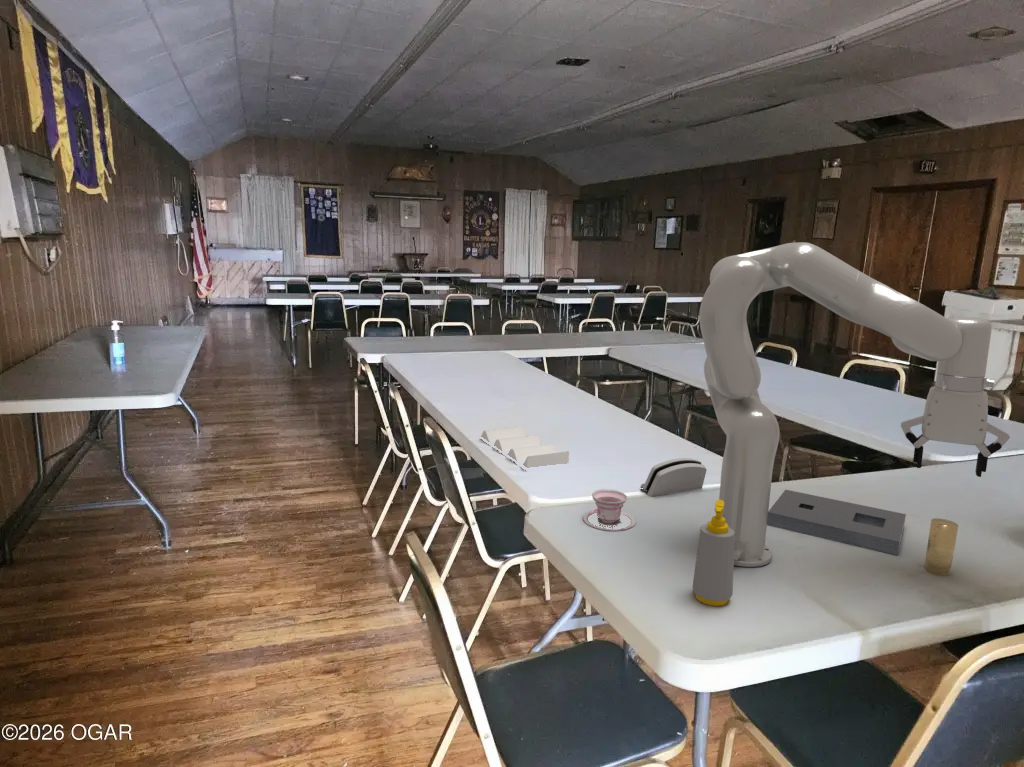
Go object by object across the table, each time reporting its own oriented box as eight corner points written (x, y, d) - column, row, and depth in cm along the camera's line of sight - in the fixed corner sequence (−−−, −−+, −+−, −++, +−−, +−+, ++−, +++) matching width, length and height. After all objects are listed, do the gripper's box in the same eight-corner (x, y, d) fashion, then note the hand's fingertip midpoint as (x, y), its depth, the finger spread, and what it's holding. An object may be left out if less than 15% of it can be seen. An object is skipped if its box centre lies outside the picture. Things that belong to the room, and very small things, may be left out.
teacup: (573, 514, 154) (574, 489, 153) (618, 508, 159) (619, 483, 157) (598, 535, 143) (600, 508, 142) (646, 528, 148) (647, 501, 147)
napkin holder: (690, 481, 178) (701, 451, 173) (700, 493, 174) (712, 462, 169) (638, 489, 171) (648, 458, 166) (648, 501, 167) (658, 470, 162)
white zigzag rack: (515, 436, 219) (516, 421, 218) (568, 468, 188) (569, 451, 187) (479, 440, 214) (479, 425, 213) (526, 474, 183) (527, 456, 182)
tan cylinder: (950, 578, 127) (958, 529, 125) (923, 571, 130) (930, 523, 128) (950, 569, 131) (958, 522, 129) (924, 563, 133) (931, 516, 131)
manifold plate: (897, 555, 136) (899, 541, 136) (766, 524, 151) (767, 512, 150) (904, 526, 151) (906, 514, 151) (784, 500, 165) (785, 489, 165)
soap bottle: (689, 603, 116) (697, 507, 112) (693, 585, 122) (701, 493, 119) (730, 611, 114) (740, 513, 110) (732, 592, 120) (741, 499, 116)
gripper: (1014, 384, 123) (1001, 472, 126) (906, 375, 132) (896, 458, 135) (1019, 392, 117) (1005, 484, 120) (905, 382, 126) (895, 468, 129)
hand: (947, 470), depth 128 cm, fingers open, 9 cm apart
